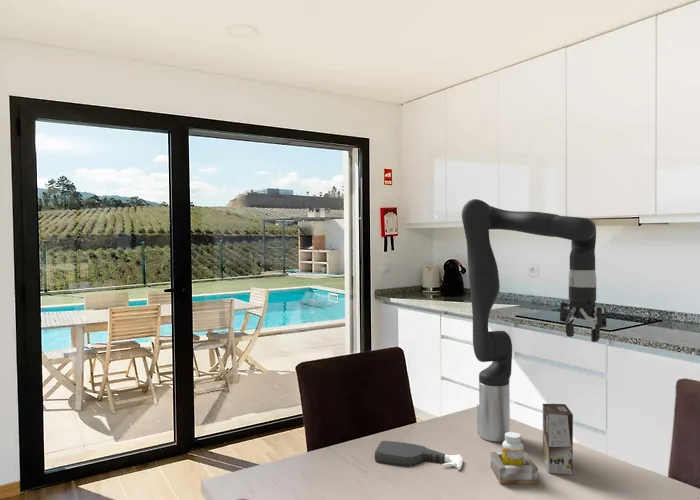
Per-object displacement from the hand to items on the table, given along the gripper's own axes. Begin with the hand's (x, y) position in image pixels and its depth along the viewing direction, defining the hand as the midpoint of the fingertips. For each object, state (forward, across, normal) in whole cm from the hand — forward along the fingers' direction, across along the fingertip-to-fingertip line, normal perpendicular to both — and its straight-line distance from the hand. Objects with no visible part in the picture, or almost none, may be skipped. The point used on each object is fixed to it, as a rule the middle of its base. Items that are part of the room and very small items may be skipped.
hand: (582, 339), depth 153 cm
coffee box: (+32, +6, -18) cm, 37 cm away
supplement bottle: (+31, +4, -32) cm, 45 cm away
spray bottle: (+33, -16, -48) cm, 60 cm away
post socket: (+32, +4, -32) cm, 46 cm away
